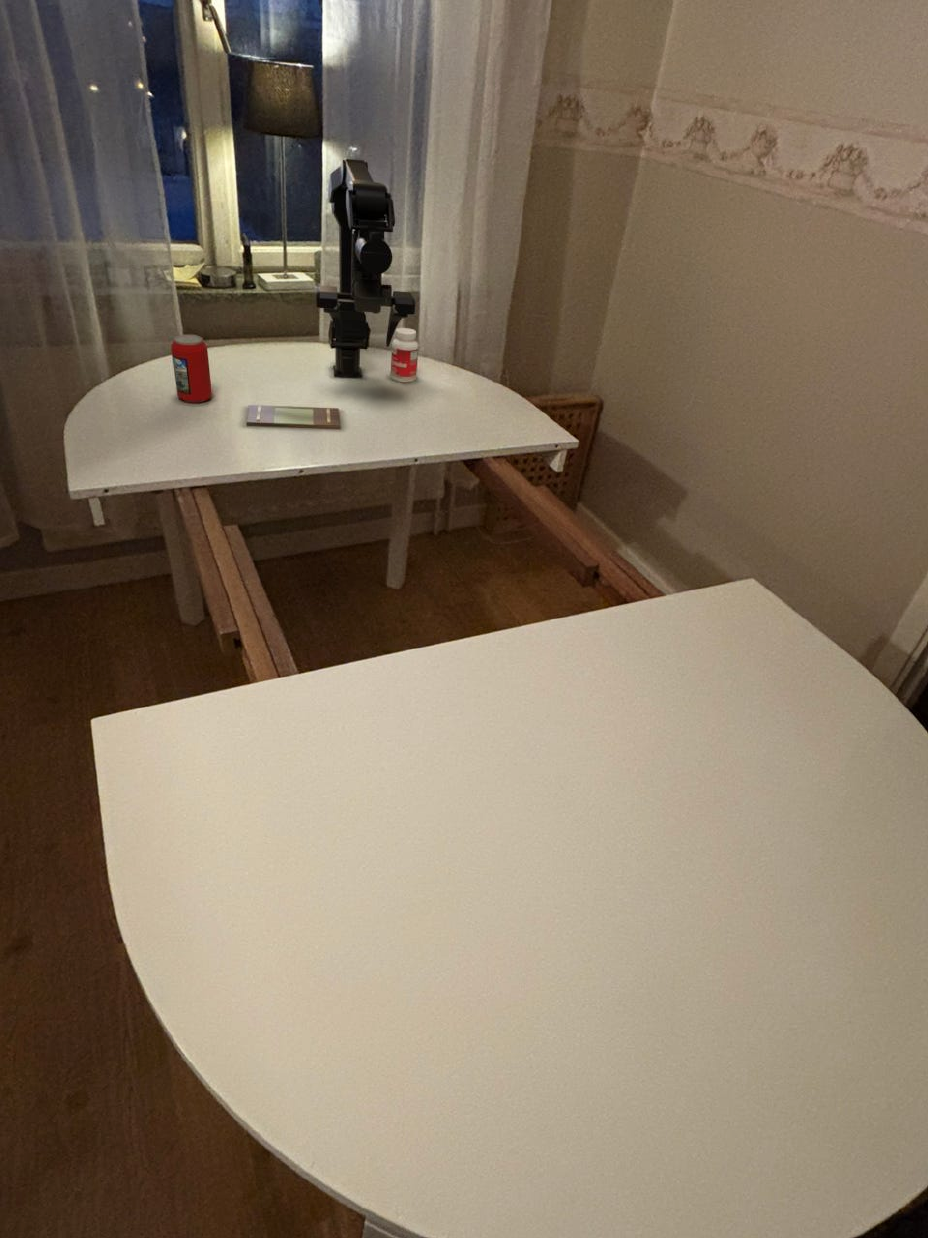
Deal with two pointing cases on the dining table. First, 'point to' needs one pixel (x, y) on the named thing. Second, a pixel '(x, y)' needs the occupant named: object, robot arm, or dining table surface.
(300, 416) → the brown and green board
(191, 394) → the beverage can
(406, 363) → the pill bottle
